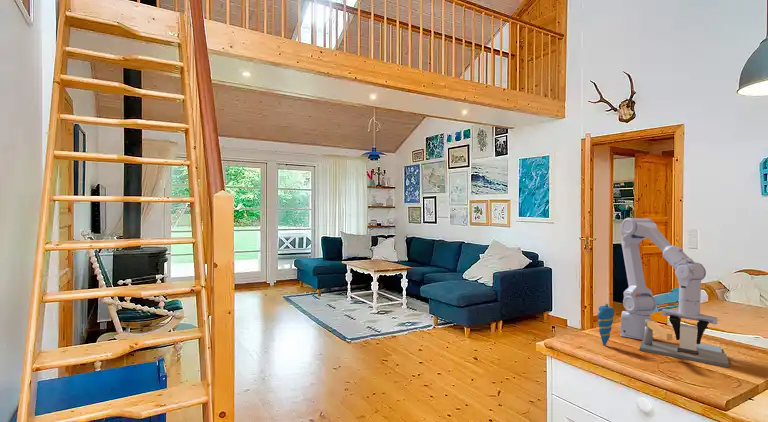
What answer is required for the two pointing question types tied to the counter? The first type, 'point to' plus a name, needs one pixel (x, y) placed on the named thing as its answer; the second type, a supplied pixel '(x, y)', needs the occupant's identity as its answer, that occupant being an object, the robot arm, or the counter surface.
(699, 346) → the rest pad
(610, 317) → the ornament
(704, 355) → the socket block
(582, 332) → the counter surface
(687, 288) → the robot arm
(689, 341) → the plug
